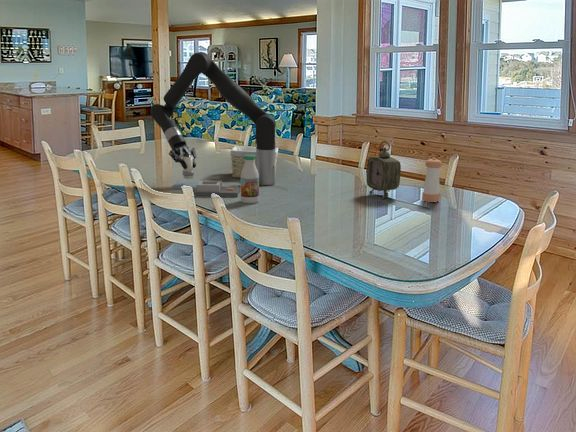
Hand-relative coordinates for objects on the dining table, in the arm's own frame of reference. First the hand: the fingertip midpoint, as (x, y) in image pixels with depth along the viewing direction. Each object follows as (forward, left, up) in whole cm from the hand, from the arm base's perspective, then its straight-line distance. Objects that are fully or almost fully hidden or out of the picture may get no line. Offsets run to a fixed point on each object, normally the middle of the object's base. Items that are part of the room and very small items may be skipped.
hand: (190, 167), depth 256 cm
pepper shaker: (-109, +19, -10) cm, 111 cm away
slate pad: (+1, -1, -9) cm, 10 cm away
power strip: (-14, +13, -9) cm, 21 cm away
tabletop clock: (-89, +12, -10) cm, 90 cm away
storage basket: (-28, -30, -10) cm, 43 cm away
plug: (+1, -1, -5) cm, 6 cm away
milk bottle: (-30, +27, -10) cm, 41 cm away
